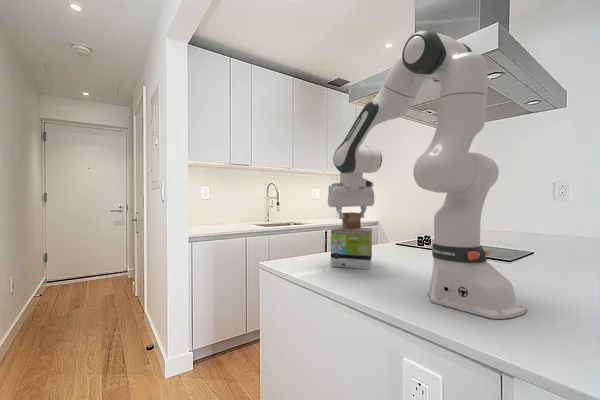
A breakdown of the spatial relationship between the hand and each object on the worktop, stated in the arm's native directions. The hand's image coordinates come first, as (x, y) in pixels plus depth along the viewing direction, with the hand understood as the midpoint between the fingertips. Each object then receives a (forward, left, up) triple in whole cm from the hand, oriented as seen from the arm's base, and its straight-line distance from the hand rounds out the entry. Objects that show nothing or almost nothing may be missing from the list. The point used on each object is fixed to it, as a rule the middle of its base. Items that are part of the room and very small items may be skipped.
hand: (351, 218), depth 122 cm
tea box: (0, 0, -19) cm, 19 cm away
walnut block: (0, 0, -4) cm, 4 cm away
